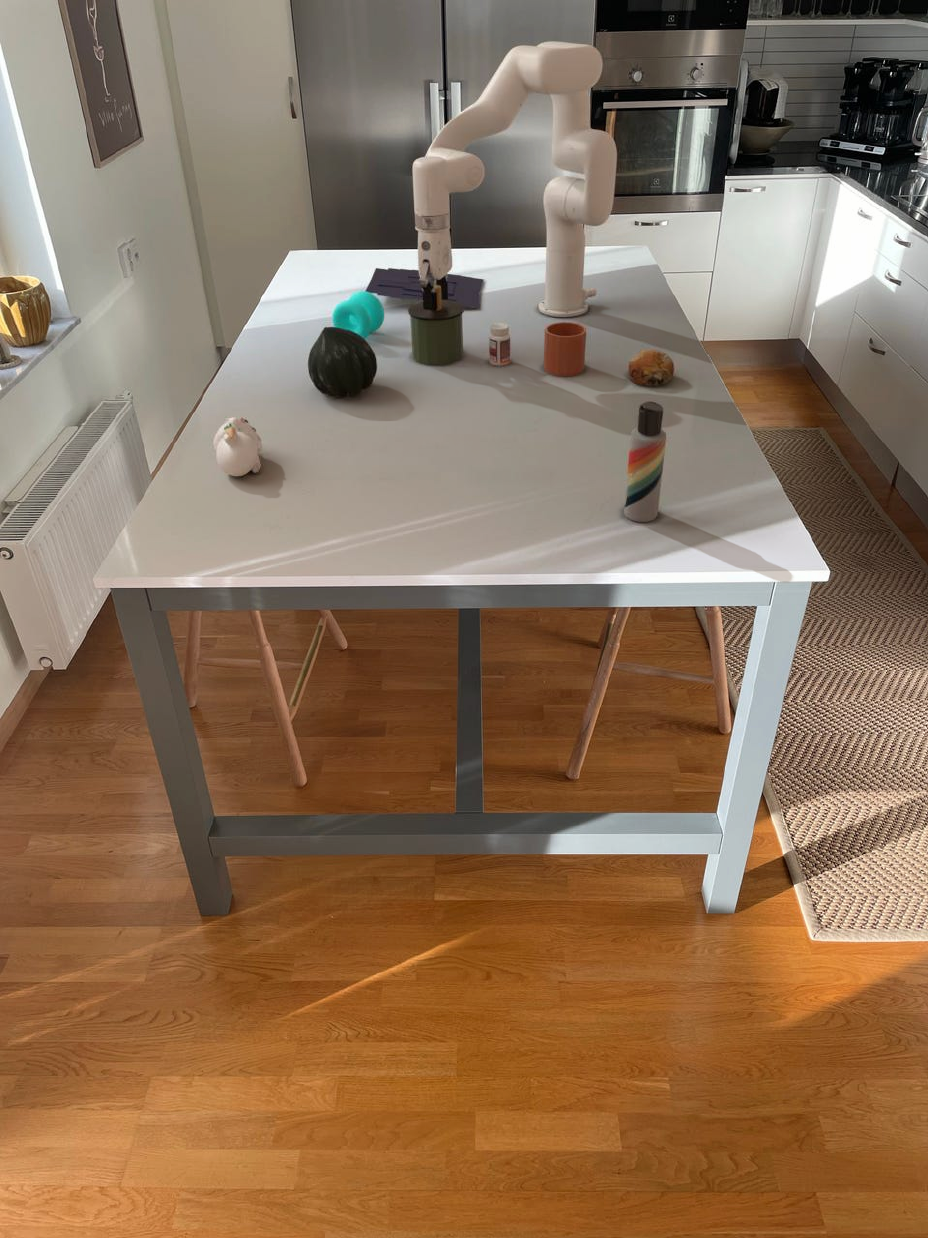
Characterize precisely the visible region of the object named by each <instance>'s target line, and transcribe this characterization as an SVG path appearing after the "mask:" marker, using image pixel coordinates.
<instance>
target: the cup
mask: <svg viewBox="0 0 928 1238" xmlns="http://www.w3.org/2000/svg"><path fill="white" fill-rule="evenodd" d="M543 340H544V343H543V370H544V372H545V373H547V374H548V375H551V376H555V377H574V376H577V375H580V374H582V373H583V372H584V371H585V363H586V346H587V345H586V344H587V327H586V326H584V325H582V324H580V323H576V322H569V321H567V322H566V321H561V322H560V321H559V322H554V323H551V324H548V325H546V326H545V328H544V339H543Z"/></svg>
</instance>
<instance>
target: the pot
mask: <svg viewBox="0 0 928 1238" xmlns="http://www.w3.org/2000/svg"><path fill="white" fill-rule="evenodd" d="M409 317H410V319H409V320H410V335H411V336H410V337H411V338H410V339H411V351H412V353H411V354H412V358H413V360H414V361H415V362H416V363H419V364H422V365H425V366H437V367H438V366H446V365H452V364H454V363H457V362H459V361H460V360H461V359H463V357H464V333H463V332H464V331H463V329H464V327H463V313H462V314H461V315H460V316H458V317H455V318H452V319H448V320H441V321H427V320H420V319H416V318H414V317H412V316H410V315H409Z"/></svg>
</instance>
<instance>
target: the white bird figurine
mask: <svg viewBox="0 0 928 1238" xmlns="http://www.w3.org/2000/svg"><path fill="white" fill-rule="evenodd" d="M213 448H214V450H215V457H216V458H215V459H216V461H217V464H218V466H219V468H220V469H221V471H223V472H224V473H225V474H227V475H229V476H232V477H242V476H245V475H246V474H248V473H249V472H250V471H252V472H253V473H255V474H256V473H258V472H259V471H260V469H261V466H262V464H261V461H260V456H259V452H260V451H262V450H263V443H262V439H261V437H260V435H259V434H258V433H257V430H256V428H255V427H253V425H251V423H250V422H249V421H248V419H245V418H243V417H242V416H241V417H235V416H234V417H227V418H226V419H225V422H224V423H223V424H222V425H221V426H219V429H218V430H217V432H216V434H215V436H214V439H213Z"/></svg>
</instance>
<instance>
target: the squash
mask: <svg viewBox="0 0 928 1238" xmlns="http://www.w3.org/2000/svg"><path fill="white" fill-rule="evenodd" d="M307 369H308V375H309V378H310V381H311V382H312V383H313V386H314V387H315V388H316V389H317V390H318V391H319V392H320V393H321V394H323V395H327V396H333V397H335V398H338V399H343V398H345V397H346V396H347V395H348V397H349V396H350V397H351V398H354V397H357V396H359V395H360V394H361V392H362V390H367V389H368V388H370V387H371V386H372V385H373V382H374V379H375V378H376V375H377V371H378V362H377V356H376V354H375V351H374V350H373V348H372V347H371V345H370V344H369V342H368V341H367V340H366V339H363V338H362V337H361V336H360V335H359V334H357V333H355V332H353V331H350V330H346V329H342V328H337V327H334V326H328V327H327V326H325V327H323V329H322V330H321V332H320V334H319V336H318V337H317V339H316V341H315V342H314V344H313V345H312V347H311V349H310V351H309V353H308V359H307Z"/></svg>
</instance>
